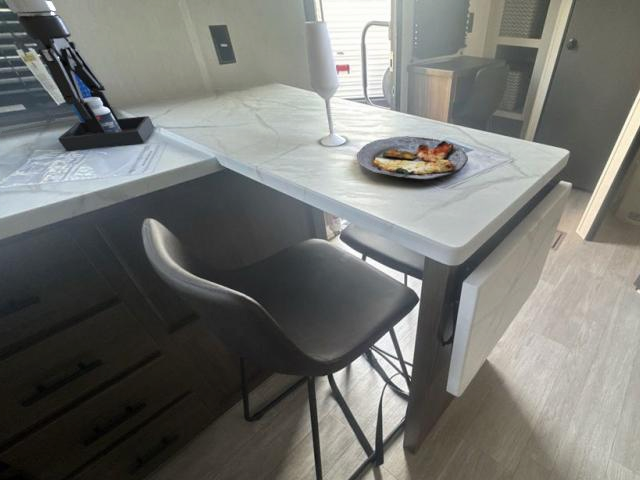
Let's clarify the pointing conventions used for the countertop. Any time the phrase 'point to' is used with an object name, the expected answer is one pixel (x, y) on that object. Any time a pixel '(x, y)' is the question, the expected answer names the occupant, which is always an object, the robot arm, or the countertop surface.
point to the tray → (107, 134)
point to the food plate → (412, 157)
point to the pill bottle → (103, 115)
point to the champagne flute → (323, 71)
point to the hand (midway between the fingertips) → (105, 125)
